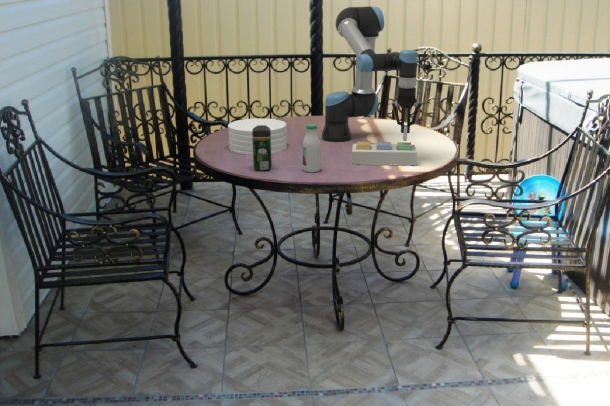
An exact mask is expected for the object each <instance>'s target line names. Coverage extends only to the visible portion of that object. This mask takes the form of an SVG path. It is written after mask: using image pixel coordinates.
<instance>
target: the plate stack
mask: <svg viewBox="0 0 610 406" xmlns="http://www.w3.org/2000/svg"><path fill="white" fill-rule="evenodd" d="M258 125H266V126H267V127H269V128H270V133H271V155H272V154H278V153H281V152H283V151H285V150H286V149H287V148H288V145H287V142H288V141H287V138H288V136H287V131H288V130H287V123H286V121H283V120H279V119H273V118H260V117H259V118H246V119H245V118H243V119H239V120H234V121H232V122H230V123H228V125H227V128H228V147H229V148H228V150H229V151H230V152H232V151H233V153H235V152H236V154H241V155H248V156H249V155H250V156H251V155H252V156H253V141H252V130H253V128H254V127H256V126H258Z"/></svg>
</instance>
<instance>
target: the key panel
mask: <svg viewBox="0 0 610 406" xmlns="http://www.w3.org/2000/svg"><path fill="white" fill-rule="evenodd" d="M411 145H412V150H397V143H395V144H394V143H393V144H392V143H391V150H377V143H371V150H359V149H357V143H352V150H351V151H352V152H351V165H352V166H355V165H356V166H358V165H357V164H368V165H367V166H392V165H393V164H397V165H416V166H417V156H418V154H417V153H418V151H417V148H416V145H415V144H411ZM390 164H392V165H390Z"/></svg>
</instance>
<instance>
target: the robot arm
mask: <svg viewBox="0 0 610 406" xmlns="http://www.w3.org/2000/svg"><path fill="white" fill-rule="evenodd" d="M384 28H385V18H384V13H383V11H382V9H380V7H378V6H369V5H368V6H349V7H346V8H344V9H342V10H341V11H340V12H339V13H338V14H337V16H336V19H335V29H336V31H337V33H338V34H339V36H340V37H343V38H344V40H345V41H346V42H347V44H348V46H349V47H350V48H351V50H352V51H353V53H354V54H355V56H356V61H355V78H354V79H355V80H354V86H353V88H352V89H351V93H349V92H348V91H346V90H343V91H334V92H330V93H328V94H327V95H326V96H325V100H324V101H325V103H324V115H325V116H324V119H325V121H324V122H325V123H324V125H323V129H322V132H321V140H322V141H326V142H331V143H332V142H334V143H341V142H342V143H343V142H347V141H351V140H352V131H351V128H350V126H349V125H350V124H349V118H360V117H361V118H363V117H364V118H365V117H371V116H373V115H375V113H377V110H378V108H379V95H378V94H377V93H376V91H375V89H374V88H373V78H374V72H386V71H387V72H388V71H390V72H391V71H398V83H397V84H398V86H399V87H398V89H397V90H398V91H397V98H396V100H395V101H393V102H391V106H392V107H393V110H394V114H395V119H396V124H397V125H398V126H400V133H401V134H402V141H403V142H407V141H408V139H407V138H408V134H410V133H411V131H410V130H411V126H413V125H414V126H415V123H416V119H417V115H418V112H419V109H420V108H421V106H422V103H421V102H420V101H418V100H417V97H416V93H417V71H418V59H419V58H418V52H417V50H415V49H403V50H400V52H399V51H391V52H385V53H376V51H375V47H376V39H378V38H379V36H380V34H379V33H380V32H382V31H383V30H384ZM398 105H399V106H400V108H401V117H400V116H399V111H398ZM413 106H415V108H414V110H413V111H414V112H413V113H412V114H413V115H411V112H412V111H411V110H412V108H413ZM406 109H407V111H406ZM405 111H406V112H405ZM405 113H407V114H406V117H407V119H406V124H405ZM411 116H412V118H411ZM399 117H400V118H399ZM400 119H401V120H400ZM350 139H351V140H350Z"/></svg>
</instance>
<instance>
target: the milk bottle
mask: <svg viewBox="0 0 610 406" xmlns="http://www.w3.org/2000/svg"><path fill="white" fill-rule="evenodd" d="M305 128H306V133H305V136H304V139H303V142H302V170H303V172H306V173H318V172H320V171H321V170H322V169H321V165H322V163H321V162H322V161H321V159H322V158H321V157H322V155H321V154H322V153H321V152H322V151H321V148H322V147H321V146H322V145H321V140H320V137H319V135H318V133H317V131H318V124H316V123H307V124H306V125H305Z"/></svg>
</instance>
